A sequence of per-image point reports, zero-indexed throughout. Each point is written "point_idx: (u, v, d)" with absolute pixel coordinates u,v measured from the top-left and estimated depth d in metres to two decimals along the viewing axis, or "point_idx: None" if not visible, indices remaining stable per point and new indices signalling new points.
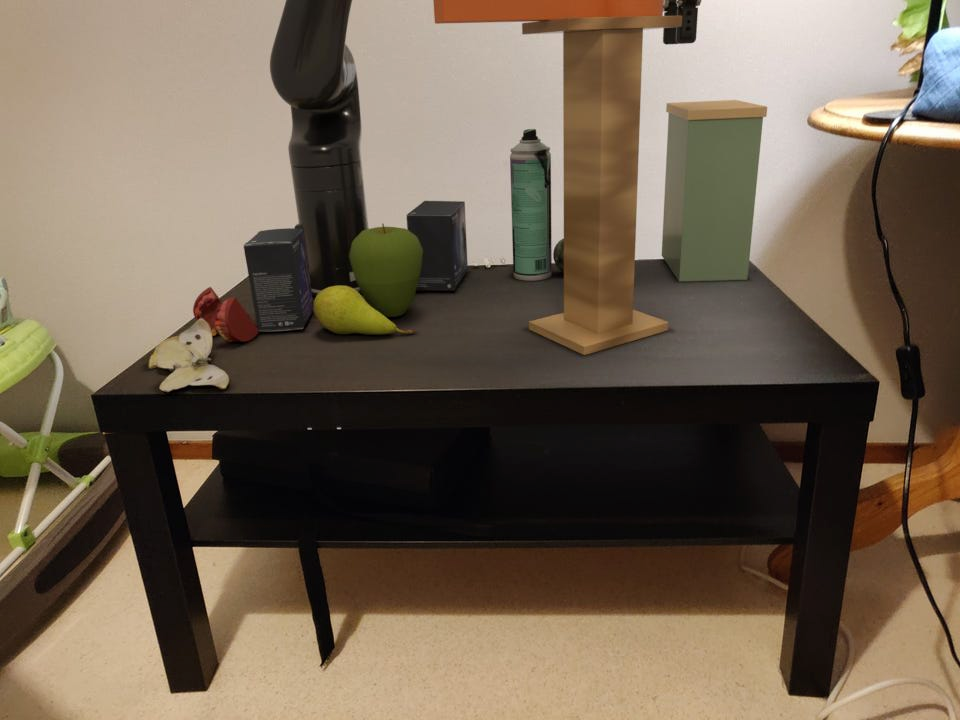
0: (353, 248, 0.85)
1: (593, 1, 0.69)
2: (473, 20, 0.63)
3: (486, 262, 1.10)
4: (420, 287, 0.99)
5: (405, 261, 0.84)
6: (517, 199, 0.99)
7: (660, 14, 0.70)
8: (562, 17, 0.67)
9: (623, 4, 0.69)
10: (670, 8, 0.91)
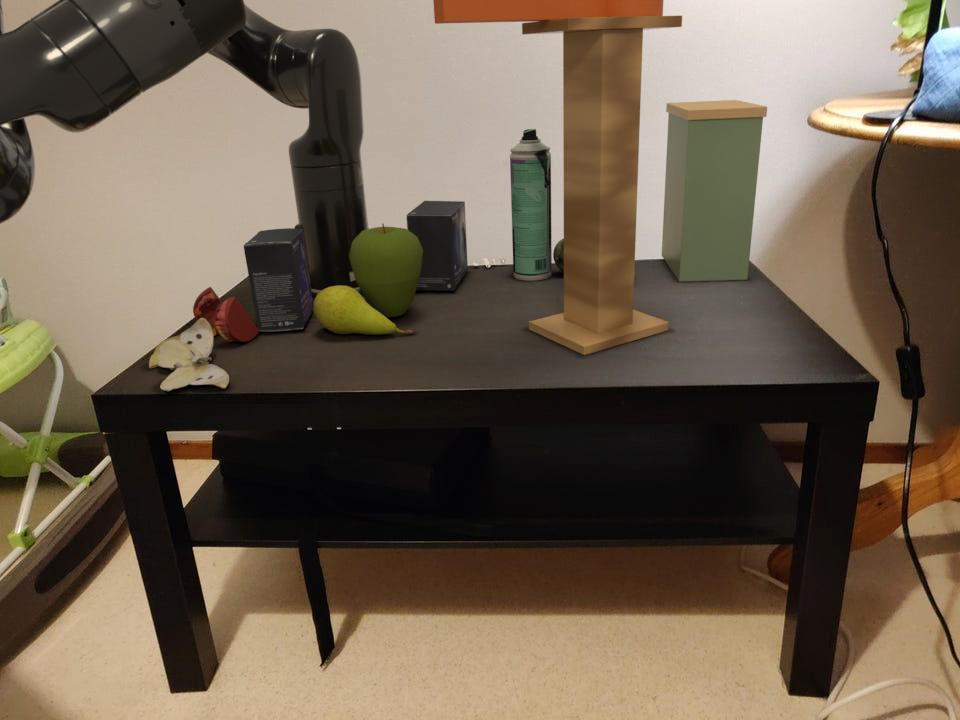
0: (353, 248, 0.85)
1: (593, 1, 0.69)
2: (473, 20, 0.63)
3: (486, 262, 1.10)
4: (420, 287, 0.99)
5: (405, 261, 0.84)
6: (517, 199, 0.99)
7: (660, 14, 0.70)
8: (562, 17, 0.67)
9: (623, 4, 0.69)
10: None
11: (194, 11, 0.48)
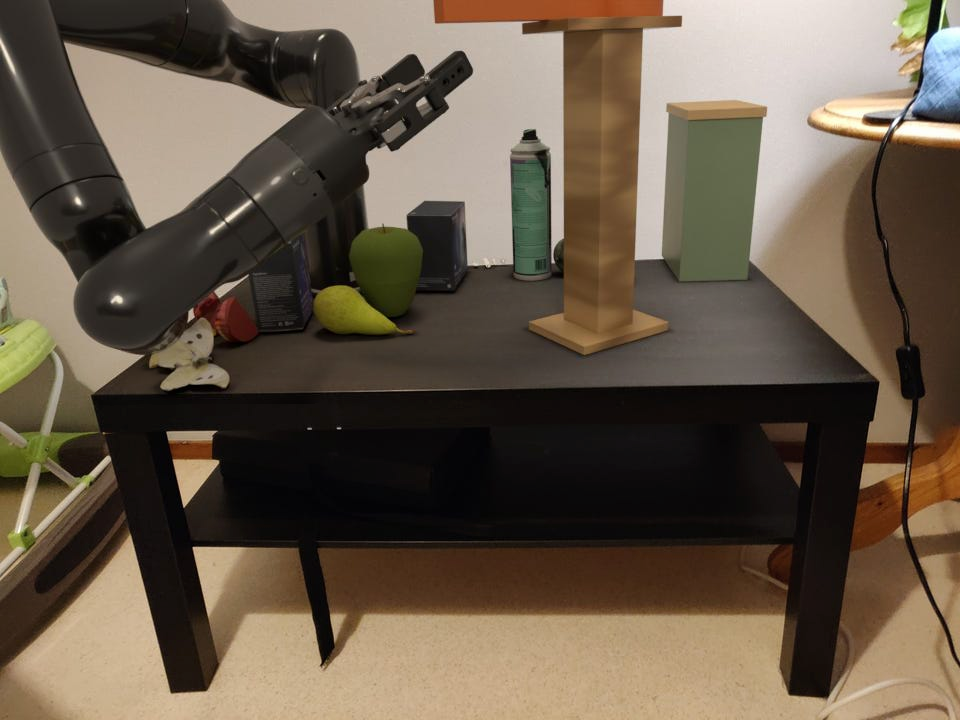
0: (353, 248, 0.85)
1: (593, 1, 0.69)
2: (473, 20, 0.63)
3: (486, 262, 1.10)
4: (420, 287, 0.99)
5: (405, 261, 0.84)
6: (517, 199, 0.99)
7: (660, 14, 0.70)
8: (562, 17, 0.67)
9: (623, 4, 0.69)
10: None
11: (332, 183, 0.58)
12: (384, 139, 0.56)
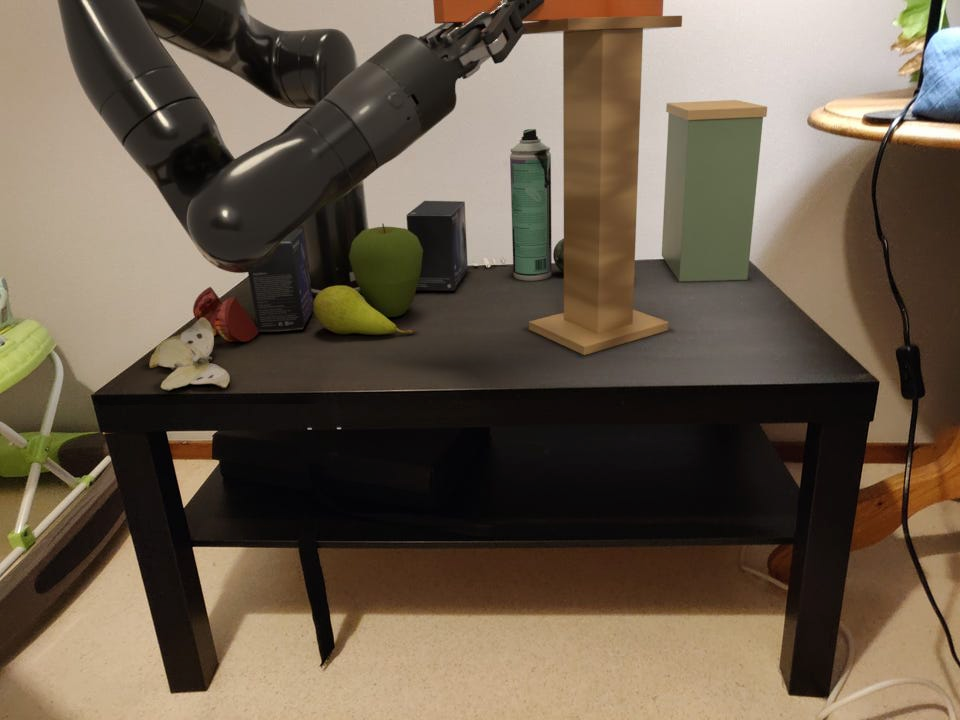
0: (353, 248, 0.85)
1: (593, 1, 0.69)
2: None
3: (486, 262, 1.10)
4: (420, 287, 0.99)
5: (405, 261, 0.84)
6: (517, 199, 0.99)
7: (660, 14, 0.70)
8: (562, 17, 0.67)
9: (623, 4, 0.69)
10: None
11: (424, 108, 0.60)
12: (494, 49, 0.59)
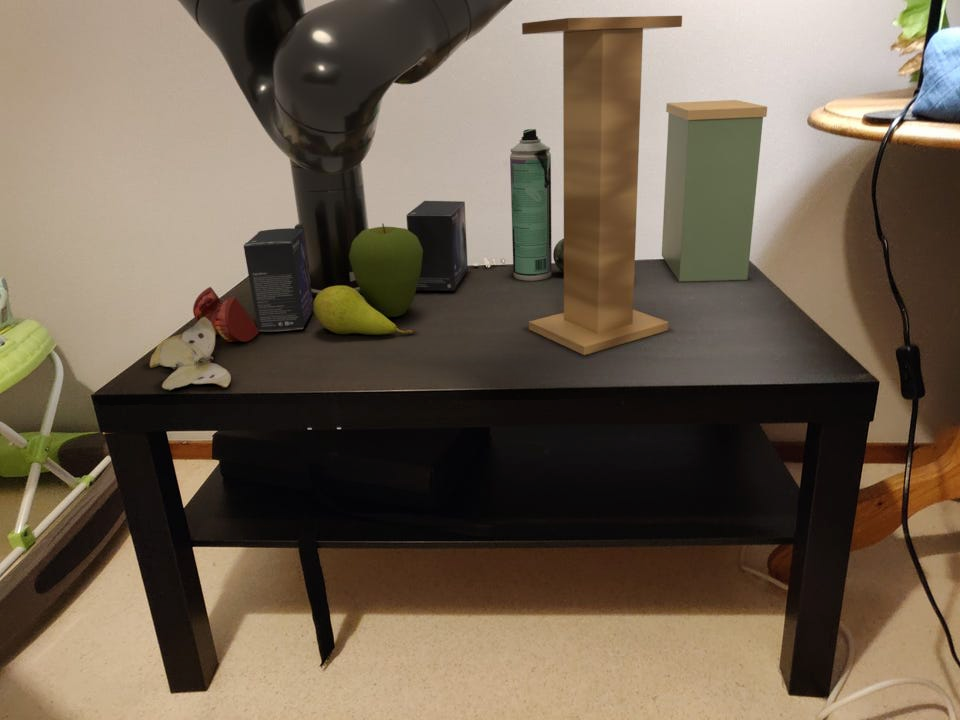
0: (353, 248, 0.85)
1: None
2: None
3: (486, 262, 1.10)
4: (420, 287, 0.99)
5: (405, 261, 0.84)
6: (517, 199, 0.99)
7: None
8: None
9: None
10: None
11: None
12: None
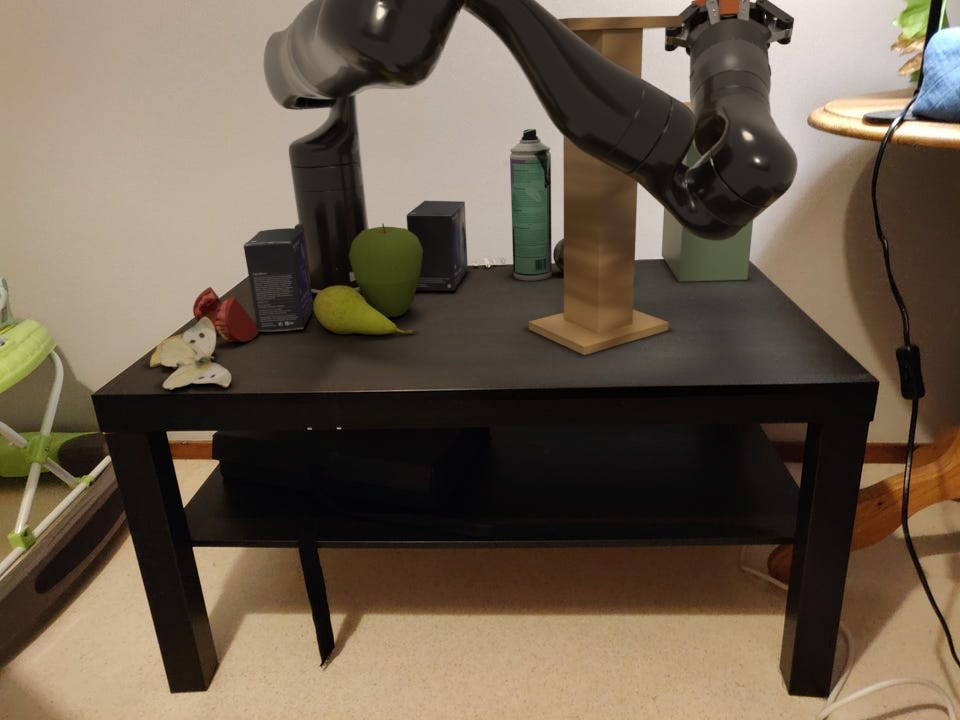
0: (353, 248, 0.85)
1: None
2: (736, 14, 0.77)
3: (486, 262, 1.10)
4: (420, 287, 0.99)
5: (405, 261, 0.84)
6: (517, 199, 0.99)
7: None
8: None
9: None
10: None
11: None
12: (791, 33, 0.76)
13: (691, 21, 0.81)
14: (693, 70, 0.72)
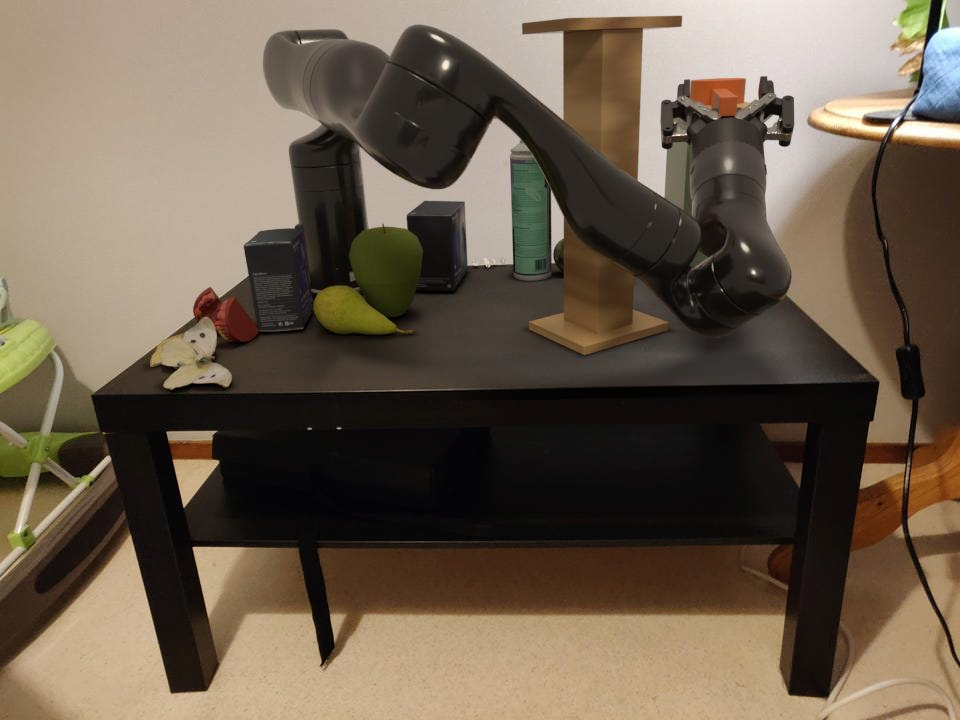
0: (353, 248, 0.85)
1: None
2: None
3: (486, 262, 1.10)
4: (420, 287, 0.99)
5: (405, 261, 0.84)
6: (517, 199, 0.99)
7: None
8: None
9: (737, 95, 0.95)
10: None
11: None
12: (788, 138, 0.79)
13: None
14: (693, 167, 0.76)
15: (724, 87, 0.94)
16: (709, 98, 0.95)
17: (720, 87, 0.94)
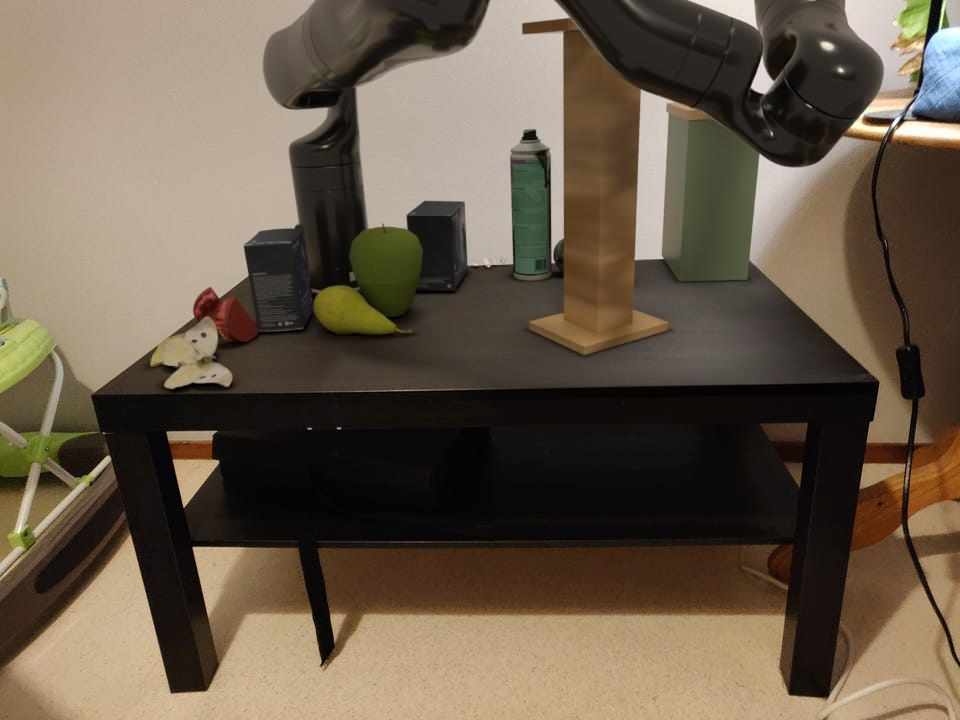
0: (353, 248, 0.85)
1: None
2: None
3: (486, 262, 1.10)
4: (420, 287, 0.99)
5: (405, 261, 0.84)
6: (517, 199, 0.99)
7: None
8: None
9: None
10: None
11: None
12: None
13: None
14: None
15: None
16: None
17: None
